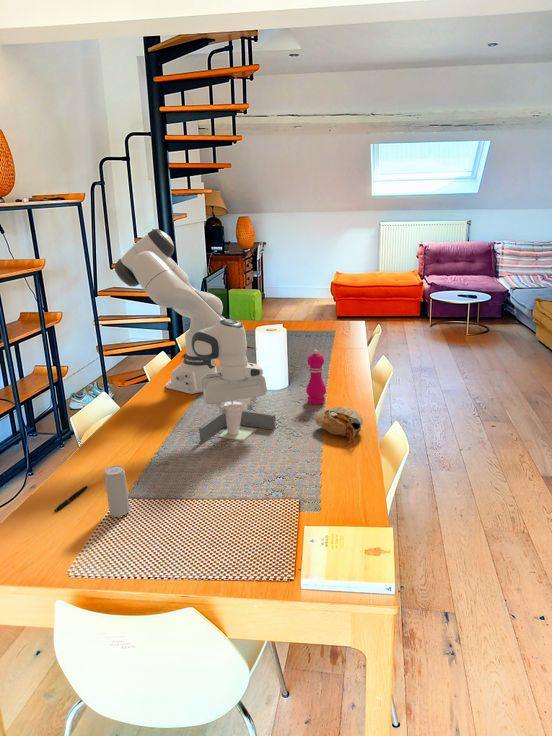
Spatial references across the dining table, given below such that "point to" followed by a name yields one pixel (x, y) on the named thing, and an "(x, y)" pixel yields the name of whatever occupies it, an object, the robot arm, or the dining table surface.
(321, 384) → the pepper mill
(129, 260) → the robot arm
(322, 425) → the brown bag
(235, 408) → the smoothie
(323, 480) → the dining table surface
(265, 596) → the dining table surface
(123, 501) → the beverage can
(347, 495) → the dining table surface
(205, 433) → the grey corner wall
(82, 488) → the fountain pen
